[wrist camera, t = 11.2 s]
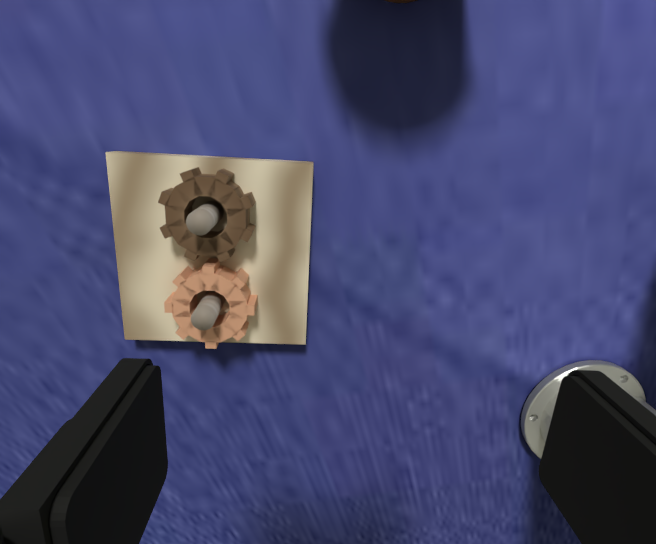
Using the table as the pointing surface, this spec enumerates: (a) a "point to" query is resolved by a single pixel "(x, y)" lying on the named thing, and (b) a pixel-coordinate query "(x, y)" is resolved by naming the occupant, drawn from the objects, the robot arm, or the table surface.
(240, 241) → the gear board
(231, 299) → the terracotta gear
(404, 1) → the food container
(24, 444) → the table surface
